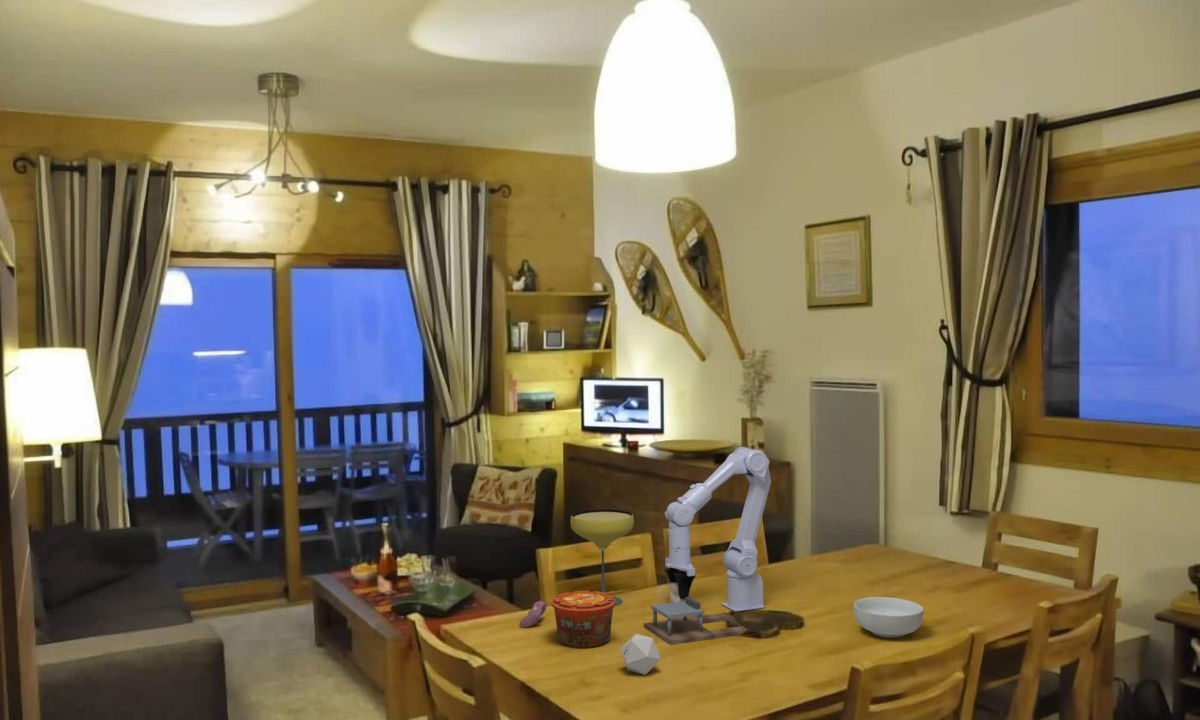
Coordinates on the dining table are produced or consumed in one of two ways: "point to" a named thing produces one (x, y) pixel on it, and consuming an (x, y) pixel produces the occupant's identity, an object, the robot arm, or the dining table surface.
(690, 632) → the puzzle board
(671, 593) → the block
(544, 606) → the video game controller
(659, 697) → the dining table surface
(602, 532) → the cocktail glass
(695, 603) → the grey miniature stool
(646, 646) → the die
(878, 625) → the cereal bowl
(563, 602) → the food container
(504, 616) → the dining table surface
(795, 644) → the dining table surface
